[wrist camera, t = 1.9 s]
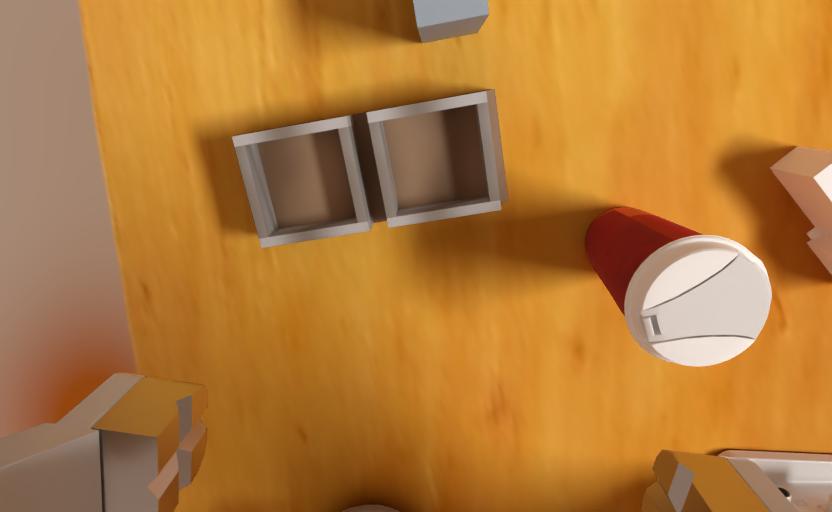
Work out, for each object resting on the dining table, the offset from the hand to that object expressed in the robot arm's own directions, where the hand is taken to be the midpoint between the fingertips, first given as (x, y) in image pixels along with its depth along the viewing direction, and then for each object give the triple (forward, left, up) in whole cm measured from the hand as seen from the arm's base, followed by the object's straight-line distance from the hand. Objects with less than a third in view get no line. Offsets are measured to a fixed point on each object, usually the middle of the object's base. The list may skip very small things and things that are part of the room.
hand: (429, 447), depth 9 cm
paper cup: (-14, +7, -33) cm, 36 cm away
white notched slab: (-28, +8, -33) cm, 44 cm away
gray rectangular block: (-3, -12, -33) cm, 35 cm away
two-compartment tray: (+4, -2, -33) cm, 33 cm away
